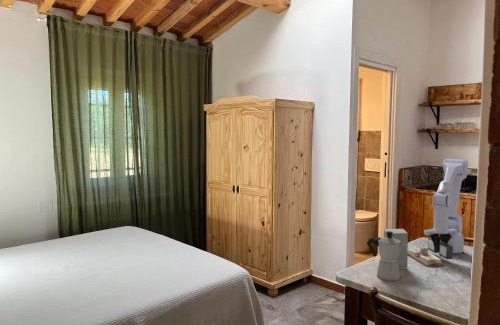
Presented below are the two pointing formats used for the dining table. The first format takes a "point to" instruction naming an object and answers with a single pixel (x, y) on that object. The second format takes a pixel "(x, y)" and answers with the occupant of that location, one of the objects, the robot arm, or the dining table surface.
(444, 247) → the grey upright panel
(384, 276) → the coffee maker
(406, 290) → the dining table surface
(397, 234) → the skincare box
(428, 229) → the robot arm
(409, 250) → the display stand
